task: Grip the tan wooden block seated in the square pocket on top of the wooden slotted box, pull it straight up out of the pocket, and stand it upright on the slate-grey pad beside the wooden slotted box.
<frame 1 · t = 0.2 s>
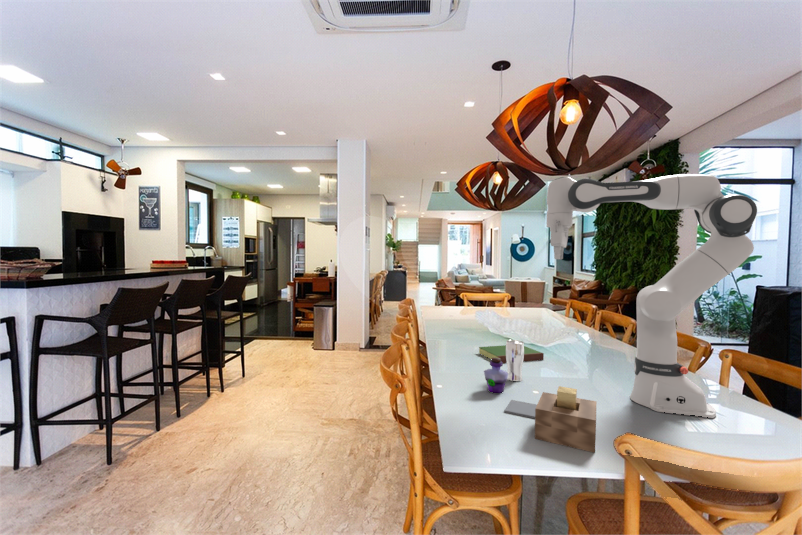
hand: (558, 259, 136), 48 cm above the table, tool pointing down, fingers open, 8 cm apart
tan wooden block: (566, 419, 99), point 4 cm above the table, touching wooden slotted box
beer glass: (514, 379, 145), on the table
potion bottle: (495, 391, 131), on the table
slate pad: (524, 409, 115), on the table
wooden slotted box: (566, 434, 99), on the table
hardcover book: (510, 358, 180), on the table
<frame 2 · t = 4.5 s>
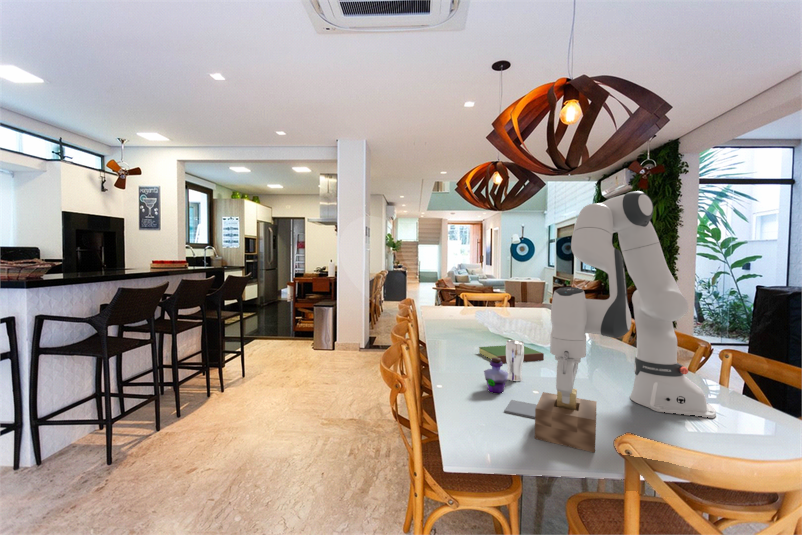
hand: (566, 398, 99), 10 cm above the table, tool pointing down, fingers closed on tan wooden block, 4 cm apart
tan wooden block: (566, 419, 99), point 4 cm above the table, touching gripper, wooden slotted box
everything else where it was.
when the fingers open (8 cm above the table, at t = 10.6 s): tan wooden block drops 1 cm, resting on slate pad.
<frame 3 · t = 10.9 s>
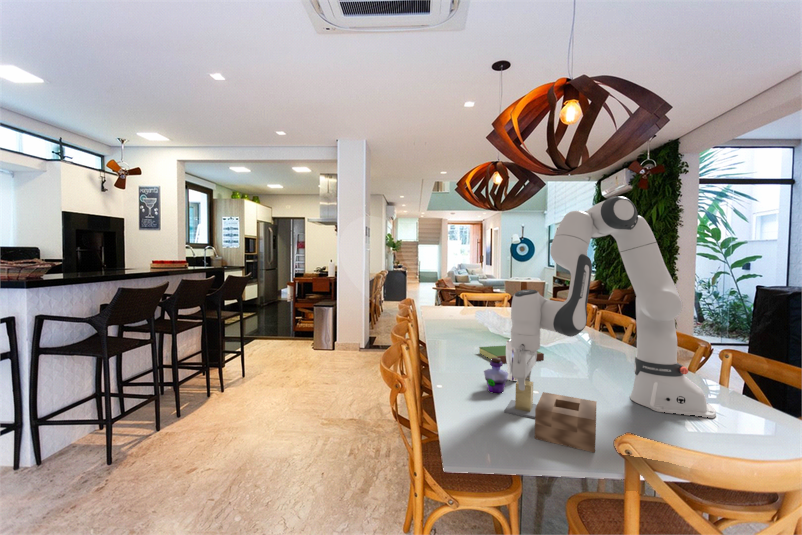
hand: (524, 385, 115), 8 cm above the table, tool pointing down, fingers open, 7 cm apart
tan wooden block: (524, 407, 115), point 1 cm above the table, touching slate pad
everything else where it was.
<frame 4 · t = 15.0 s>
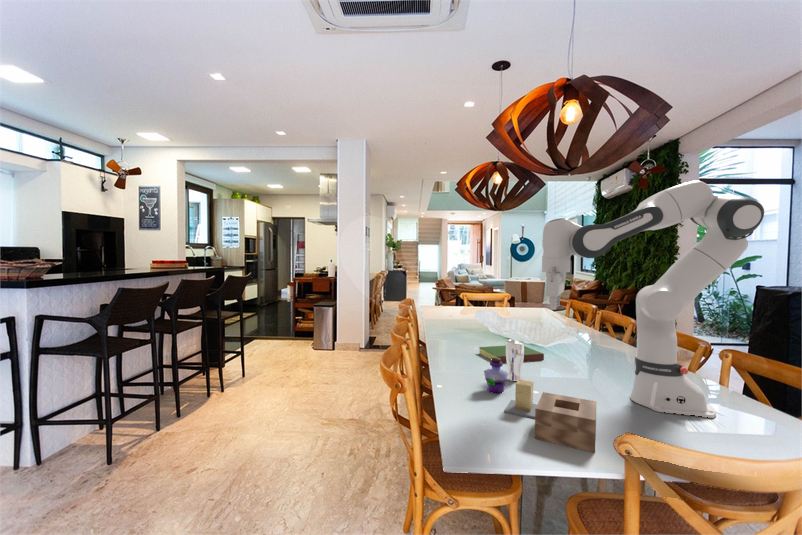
hand: (555, 308, 123), 31 cm above the table, tool pointing down, fingers open, 8 cm apart
nothing on the table moved.
at the end: tan wooden block inside the target area on the slate pad (0.0 cm from its centre), point 0.6 cm above the slate pad's base; tan wooden block tilted 0°; the gripper is holding nothing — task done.
